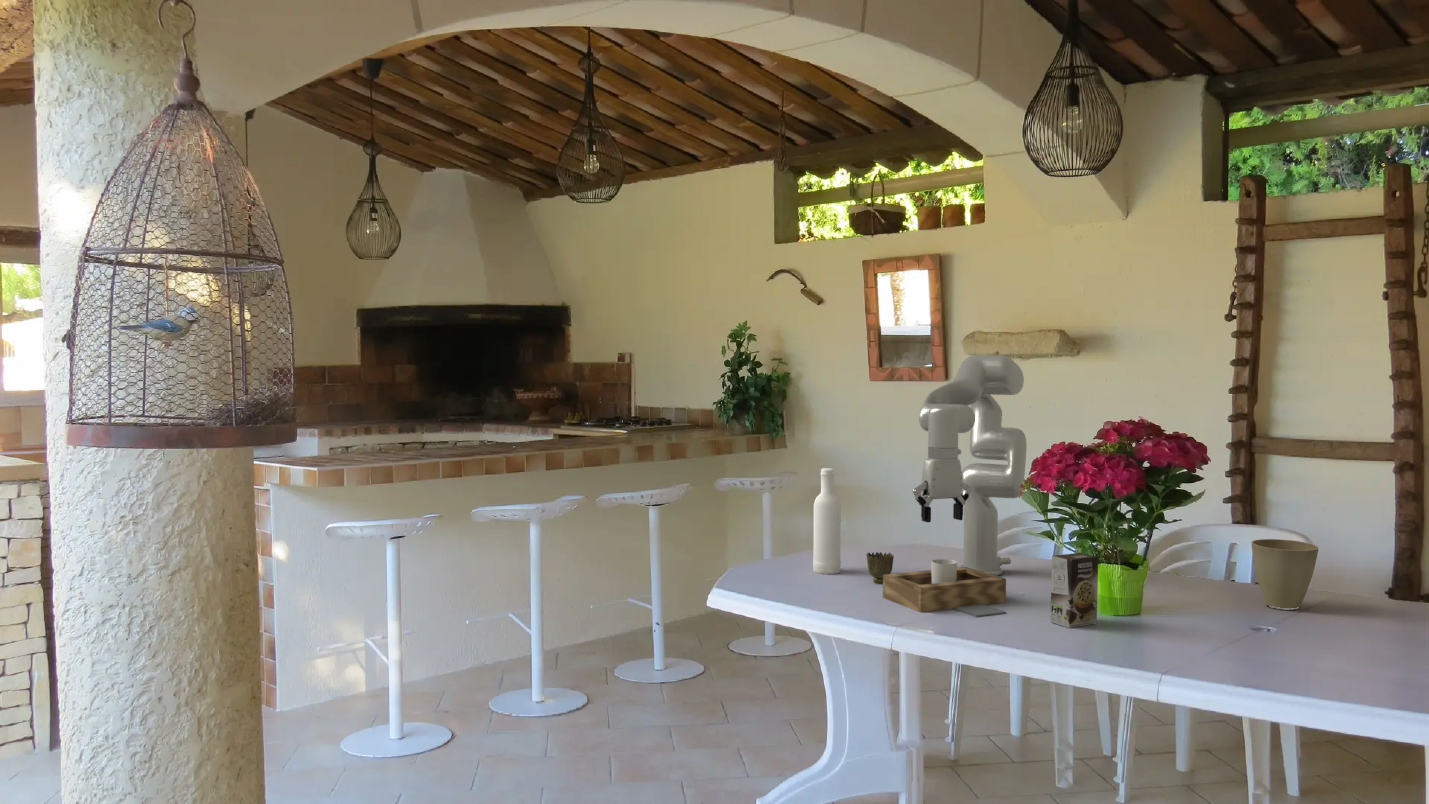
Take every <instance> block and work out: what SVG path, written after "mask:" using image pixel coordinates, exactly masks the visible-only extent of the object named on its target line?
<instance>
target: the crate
mask: <svg viewBox="0 0 1429 804" xmlns="http://www.w3.org/2000/svg"><path fill="white" fill-rule="evenodd" d="M882 599H885V600H888V601H891V602H893V603H896V604H899V605H901V606H903V607H906V608H909V609H910V610H914V611H917V612H919V613H924V612H934V611H941V610H949V609H950V610H951V609H952V610H953V609H954V607H960V606H969V605H977V604H985V605H992V604H1001V603H1002V604H1003V603H1006V602H1007V578H1005V577H1001V576H999V575H997V576H995V575H991V574H988V573H985V572H981V571H978V570H975V569H971V568H968V567H959V566H957V576H956V581H952V582H943V583H933V584H932V574H931V569H928V570H918V571H909V572H899V573H898V572H897V573H891V574H886V575H883V584H882Z"/></svg>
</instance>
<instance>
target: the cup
mask: <svg viewBox="0 0 1429 804" xmlns="http://www.w3.org/2000/svg"><path fill="white" fill-rule="evenodd" d="M894 557H895V556H894V555H893V553H891V552H888V553H886V552H884V553H882V552H881V551H880V552H878V551H877V552H871V553H870V552H868V553H866V562H867V570H868V573H869V575H870V576H871V577H873V582H874V583H875V584H877V585H878V584H879V585H880V584H881V585H883V575H886V574H892V571H893V564H894Z"/></svg>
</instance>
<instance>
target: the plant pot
mask: <svg viewBox="0 0 1429 804" xmlns="http://www.w3.org/2000/svg"><path fill="white" fill-rule="evenodd" d="M1319 550H1320V549H1319V546H1318V545H1316V544H1313V543H1310V542H1305V541H1299V540H1293V539H1291V540H1290V539H1279V538H1278V539H1277V538H1276V539H1275V538H1271V539H1270V538H1265V539H1264V538H1262V539H1254V540H1252V541H1251V551H1252V558H1253V564H1254V570H1255V574H1256V578H1257V583H1258V586H1259V590H1260V592H1261V595H1262V599H1263V600H1264V603H1266V604H1267V605H1269V606H1275V607H1280V608H1297V607H1300V608H1301V606H1302V603H1303V602H1304V599H1305V597H1306V594H1307V592H1308V589H1309V586H1310V584H1311V582H1312V578H1313V574H1314V571H1315V566H1316V563H1317V558H1318V554H1319ZM1266 604H1265V605H1266Z"/></svg>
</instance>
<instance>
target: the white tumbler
mask: <svg viewBox="0 0 1429 804" xmlns="http://www.w3.org/2000/svg"><path fill="white" fill-rule="evenodd" d="M930 565H931V566H930V567H931V569H930V570H931V574H932V584H933V583H943V582H952V581H956V576H957V567H958V561H957V560H954V559H948V558H947V559H946V558H936V559H932V560H931V561H930Z"/></svg>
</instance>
